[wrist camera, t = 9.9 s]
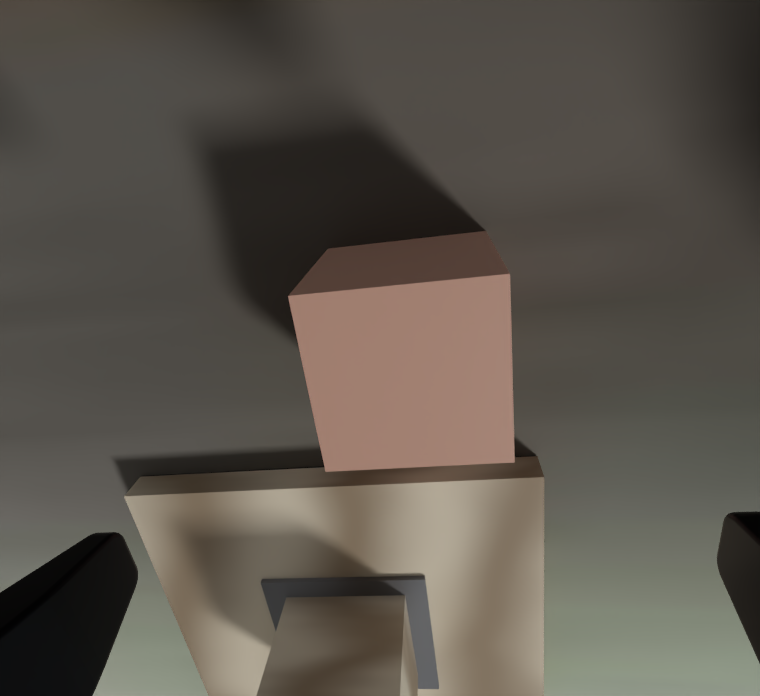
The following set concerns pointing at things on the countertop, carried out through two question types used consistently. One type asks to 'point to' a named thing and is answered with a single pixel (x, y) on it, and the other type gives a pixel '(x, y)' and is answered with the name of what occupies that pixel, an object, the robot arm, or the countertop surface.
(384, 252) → the terracotta block
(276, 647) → the maple block
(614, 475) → the countertop surface
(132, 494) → the blueprint board
